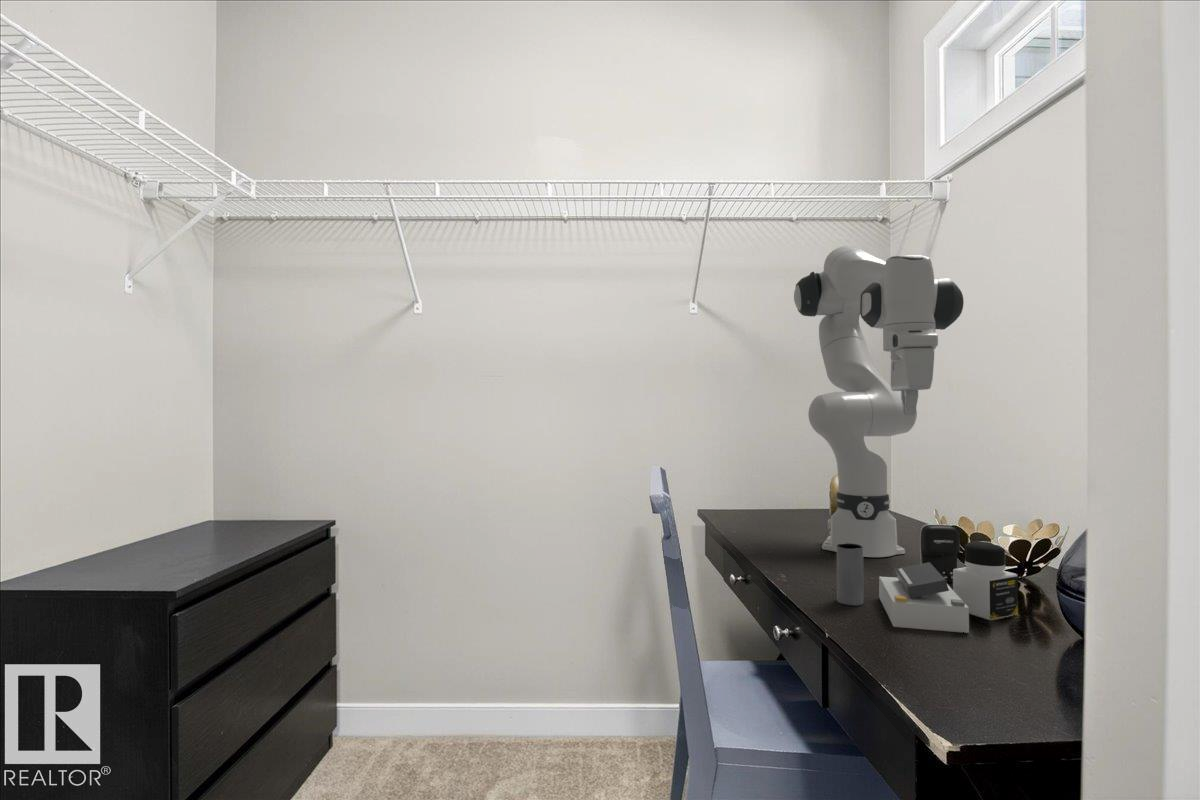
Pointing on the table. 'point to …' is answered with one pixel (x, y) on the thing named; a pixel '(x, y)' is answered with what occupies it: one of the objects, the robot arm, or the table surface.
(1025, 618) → the table surface
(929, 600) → the panel
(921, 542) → the battery charger
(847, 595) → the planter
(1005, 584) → the medicine bottle
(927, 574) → the dark gray slim case
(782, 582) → the table surface
